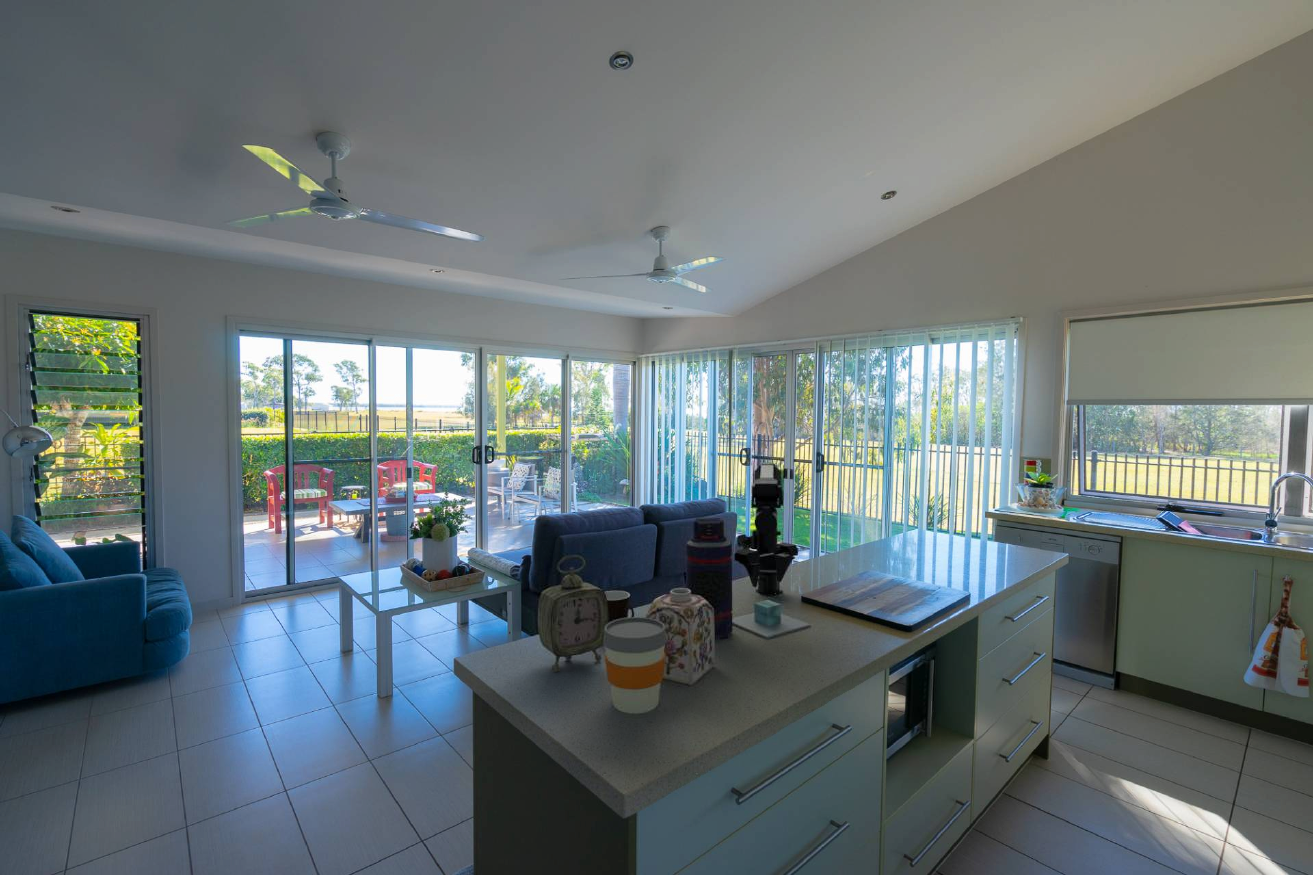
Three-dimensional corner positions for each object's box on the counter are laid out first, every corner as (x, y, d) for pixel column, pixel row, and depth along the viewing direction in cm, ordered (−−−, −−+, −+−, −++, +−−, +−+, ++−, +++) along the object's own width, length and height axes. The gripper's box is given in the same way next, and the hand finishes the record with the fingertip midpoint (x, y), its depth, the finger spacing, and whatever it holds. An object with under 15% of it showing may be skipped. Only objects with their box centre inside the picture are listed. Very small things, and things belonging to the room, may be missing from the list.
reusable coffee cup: (594, 696, 118) (593, 623, 118) (649, 683, 124) (649, 613, 124) (619, 724, 107) (618, 643, 107) (679, 708, 113) (678, 631, 112)
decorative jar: (716, 666, 132) (715, 587, 132) (693, 687, 122) (692, 601, 122) (670, 656, 138) (669, 581, 138) (644, 675, 128) (643, 593, 128)
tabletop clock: (550, 677, 128) (549, 563, 127) (535, 663, 135) (533, 555, 135) (609, 661, 136) (607, 554, 135) (591, 649, 143) (589, 547, 143)
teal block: (767, 617, 163) (767, 599, 163) (780, 622, 159) (780, 604, 159) (754, 621, 160) (754, 603, 160) (767, 626, 156) (767, 607, 156)
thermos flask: (735, 642, 147) (734, 523, 146) (687, 642, 147) (686, 523, 146) (729, 623, 160) (728, 514, 160) (686, 624, 161) (684, 515, 160)
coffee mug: (594, 629, 157) (594, 592, 157) (625, 625, 160) (625, 589, 160) (604, 644, 146) (603, 605, 146) (637, 640, 149) (636, 601, 149)
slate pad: (768, 611, 171) (768, 609, 171) (810, 626, 157) (810, 624, 157) (726, 621, 162) (726, 619, 162) (766, 639, 149) (766, 636, 149)
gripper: (770, 520, 171) (771, 573, 171) (721, 526, 161) (721, 583, 161) (799, 525, 162) (799, 581, 162) (748, 532, 151) (749, 592, 152)
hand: (767, 584), depth 159 cm, fingers open, 9 cm apart
